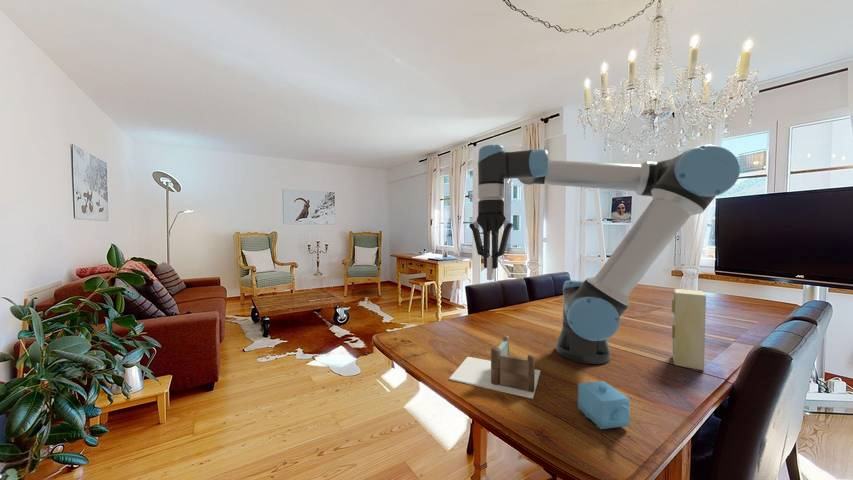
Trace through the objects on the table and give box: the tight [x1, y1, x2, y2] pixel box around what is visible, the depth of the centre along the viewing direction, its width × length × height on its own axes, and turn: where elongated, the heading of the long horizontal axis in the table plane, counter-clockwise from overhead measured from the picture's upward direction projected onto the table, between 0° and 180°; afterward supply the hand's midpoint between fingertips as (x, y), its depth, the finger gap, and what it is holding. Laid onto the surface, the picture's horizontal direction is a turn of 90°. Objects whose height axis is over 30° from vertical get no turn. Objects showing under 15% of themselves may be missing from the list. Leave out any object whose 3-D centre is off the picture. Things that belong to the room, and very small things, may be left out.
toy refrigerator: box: [671, 288, 707, 371], centre depth 91 cm, size 8×7×21 cm
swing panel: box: [497, 335, 510, 356], centre depth 86 cm, size 10×2×8 cm, turn 152°
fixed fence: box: [490, 347, 536, 392], centre depth 78 cm, size 11×2×9 cm, turn 64°
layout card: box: [448, 356, 541, 400], centre depth 84 cm, size 21×15×1 cm
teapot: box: [577, 380, 632, 430], centre depth 64 cm, size 12×6×8 cm, turn 10°
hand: (490, 279), depth 93 cm, fingers closed
